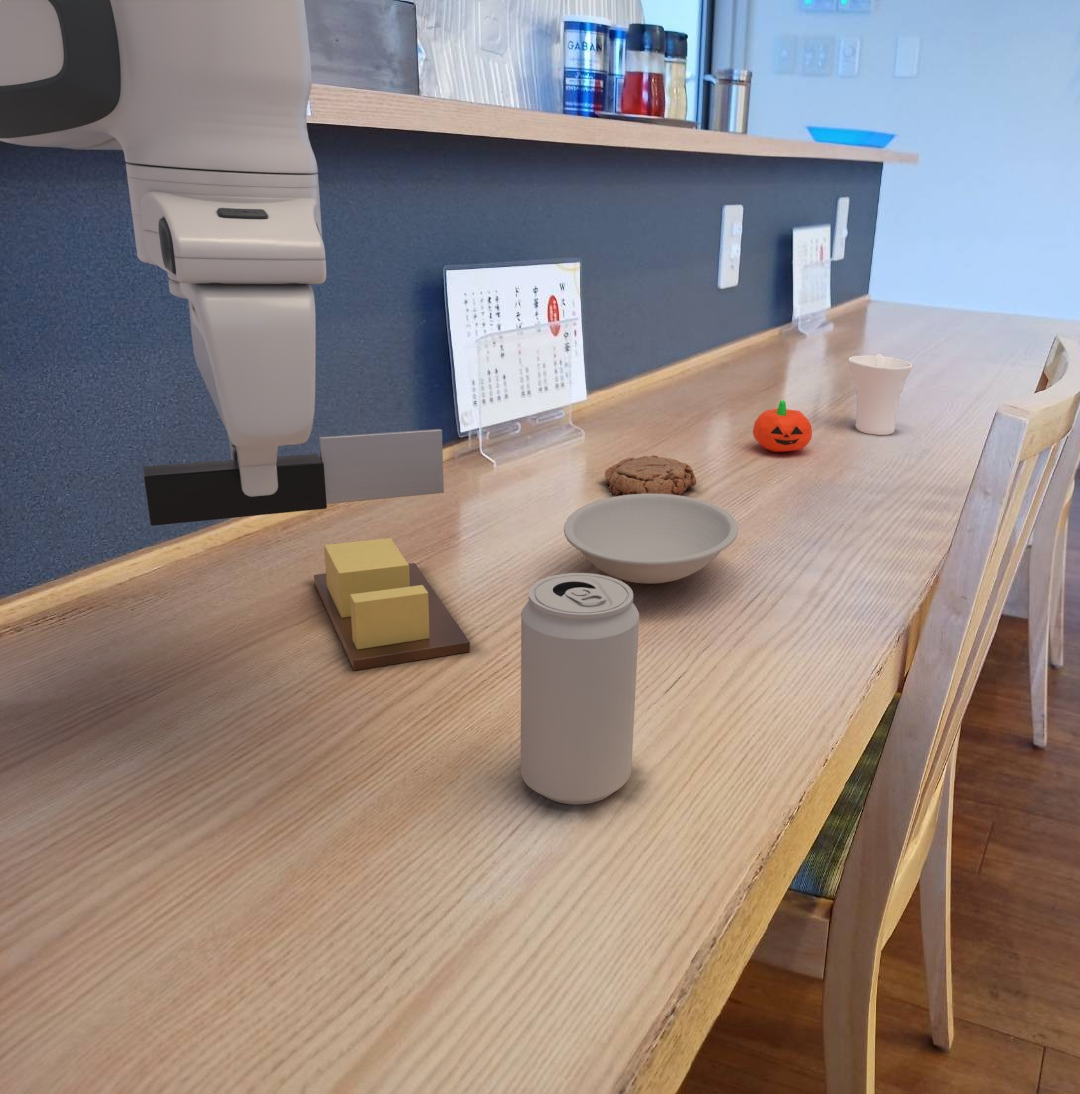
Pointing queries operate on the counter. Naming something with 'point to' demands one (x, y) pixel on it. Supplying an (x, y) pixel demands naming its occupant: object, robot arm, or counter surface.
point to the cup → (878, 391)
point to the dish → (650, 535)
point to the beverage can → (578, 686)
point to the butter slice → (389, 616)
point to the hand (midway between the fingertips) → (255, 483)
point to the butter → (363, 570)
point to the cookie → (649, 476)
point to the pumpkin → (782, 429)
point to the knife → (301, 478)
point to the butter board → (440, 642)
